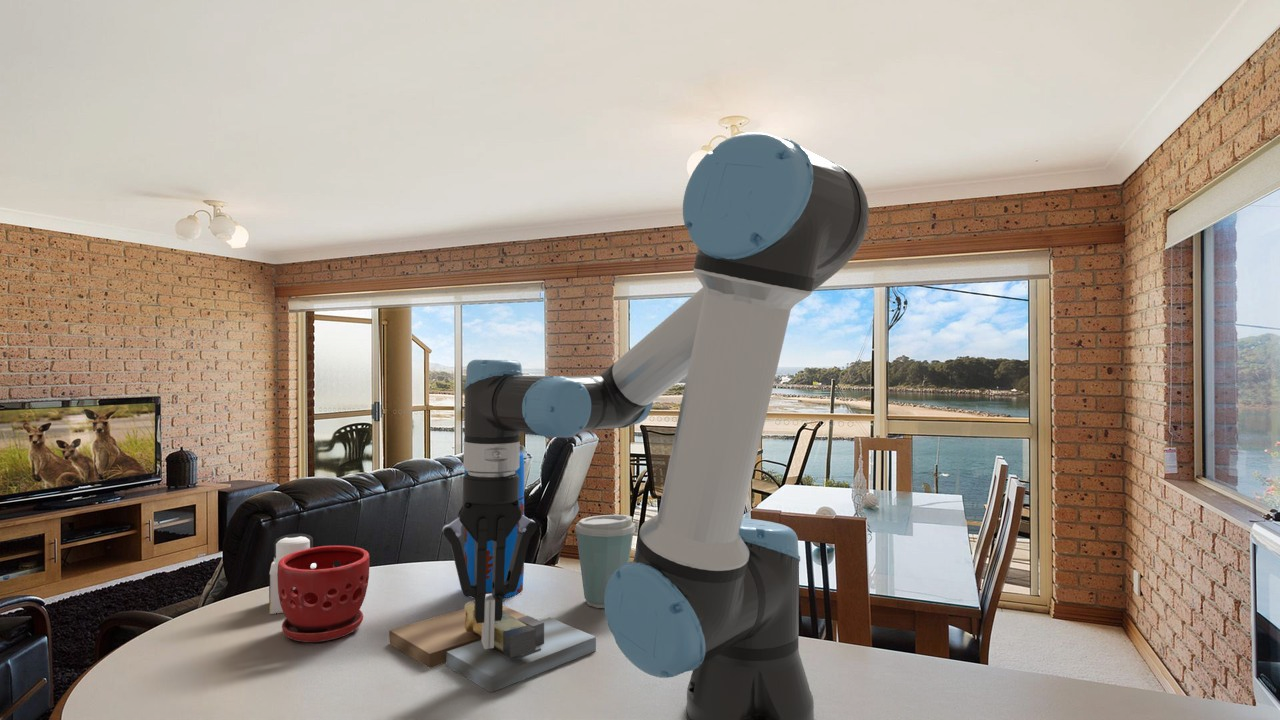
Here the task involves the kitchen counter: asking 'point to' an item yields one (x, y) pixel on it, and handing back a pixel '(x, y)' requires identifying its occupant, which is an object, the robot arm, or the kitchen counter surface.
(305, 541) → the medicine bottle
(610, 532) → the disposable coffee cup
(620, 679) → the kitchen counter surface
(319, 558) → the plant pot
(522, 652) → the swing bar
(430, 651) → the door and jamb
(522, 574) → the thermos
